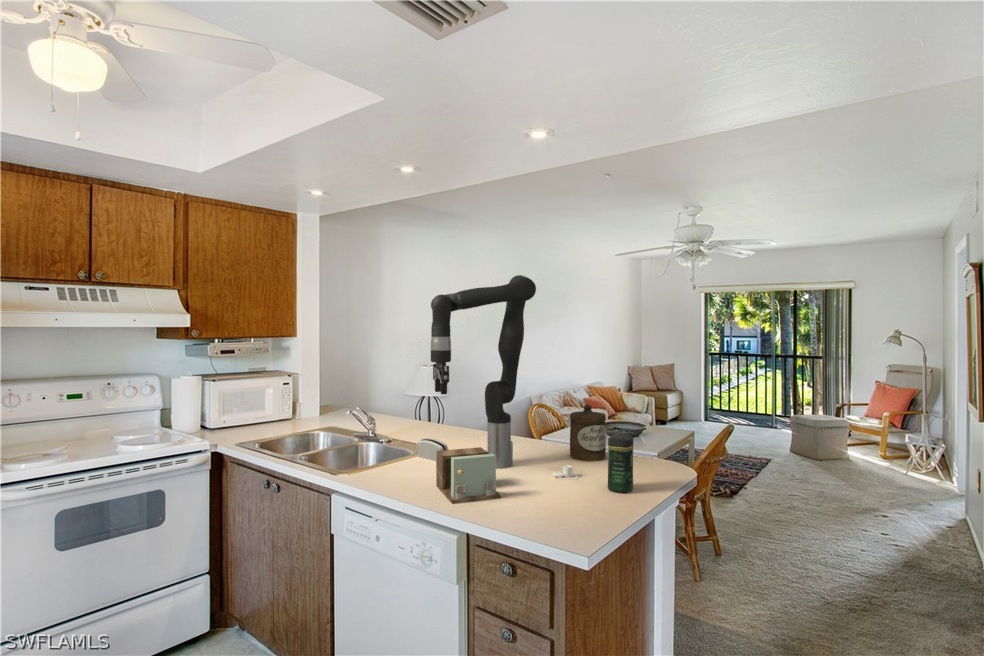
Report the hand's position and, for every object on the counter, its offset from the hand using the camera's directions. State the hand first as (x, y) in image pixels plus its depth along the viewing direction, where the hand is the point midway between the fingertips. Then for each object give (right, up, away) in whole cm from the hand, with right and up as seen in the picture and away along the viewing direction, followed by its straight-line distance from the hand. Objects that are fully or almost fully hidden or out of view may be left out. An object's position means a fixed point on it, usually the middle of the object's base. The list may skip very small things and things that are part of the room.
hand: (440, 393), depth 192 cm
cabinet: (+11, -30, -20) cm, 38 cm away
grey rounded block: (-5, -31, +23) cm, 39 cm away
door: (+13, -29, -26) cm, 41 cm away
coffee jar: (+62, -30, -18) cm, 71 cm away
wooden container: (+59, -31, +27) cm, 72 cm away
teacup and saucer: (+45, -31, 0) cm, 54 cm away
